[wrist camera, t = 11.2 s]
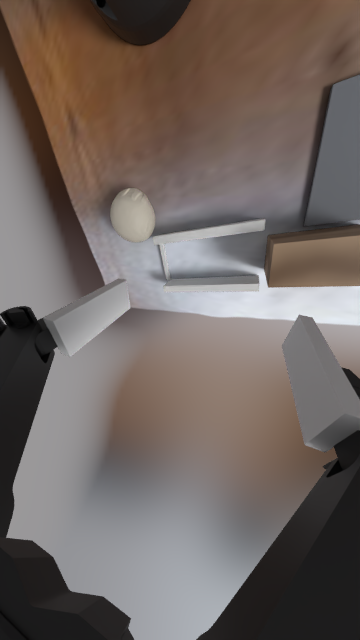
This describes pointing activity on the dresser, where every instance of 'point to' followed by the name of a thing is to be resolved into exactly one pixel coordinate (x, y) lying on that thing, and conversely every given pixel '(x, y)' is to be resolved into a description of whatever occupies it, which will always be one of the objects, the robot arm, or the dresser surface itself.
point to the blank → (314, 258)
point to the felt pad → (338, 159)
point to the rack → (210, 282)
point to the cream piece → (132, 215)
